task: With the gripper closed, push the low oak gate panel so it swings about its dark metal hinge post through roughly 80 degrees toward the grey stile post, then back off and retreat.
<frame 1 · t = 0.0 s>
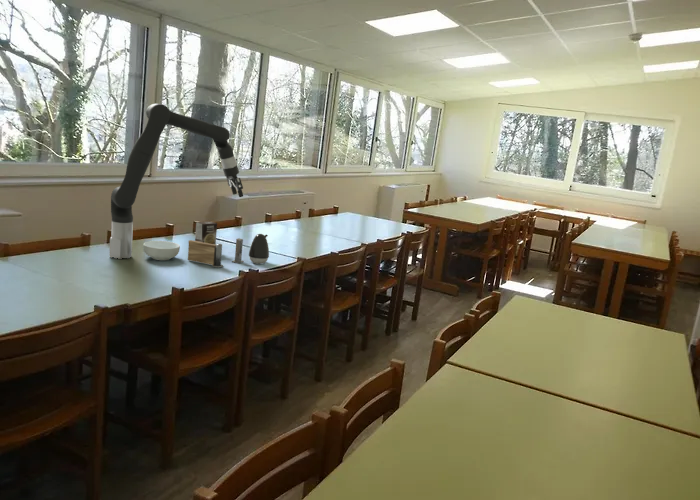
hand: (238, 195, 282), 31 cm above the table, tool tilted 20°, fingers open, 8 cm apart
cereal bowl: (161, 258, 263), on the table
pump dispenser: (258, 263, 276), on the table
hinge post: (217, 266, 260), on the table
coffee box: (204, 252, 284), on the table
stile post: (237, 262, 273), on the table
gate: (202, 252, 261), point 5 cm above the table, hinge at 0.0°
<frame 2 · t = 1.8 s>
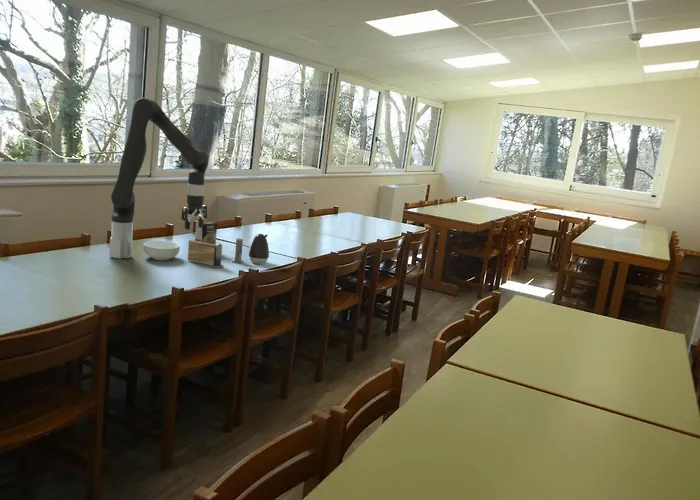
hand: (193, 228, 251), 18 cm above the table, tool pointing down, fingers open, 8 cm apart
nothing on the table moved.
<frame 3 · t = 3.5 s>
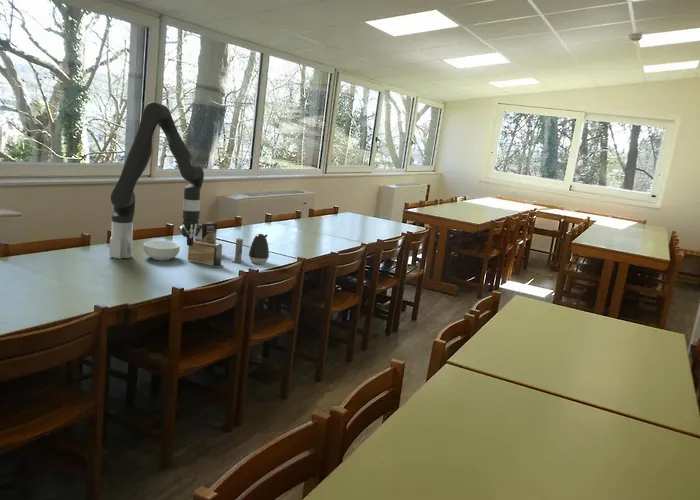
hand: (189, 245, 251), 10 cm above the table, tool pointing down, fingers closed
nothing on the table moved.
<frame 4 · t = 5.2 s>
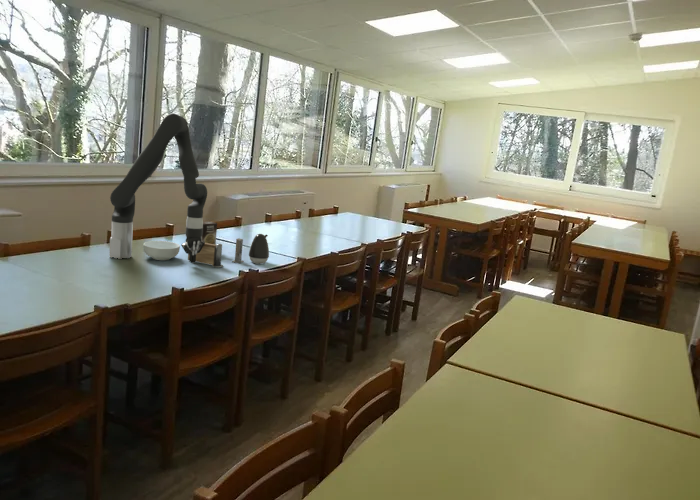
hand: (192, 262, 255), 2 cm above the table, tool pointing down, fingers closed
nothing on the table moved.
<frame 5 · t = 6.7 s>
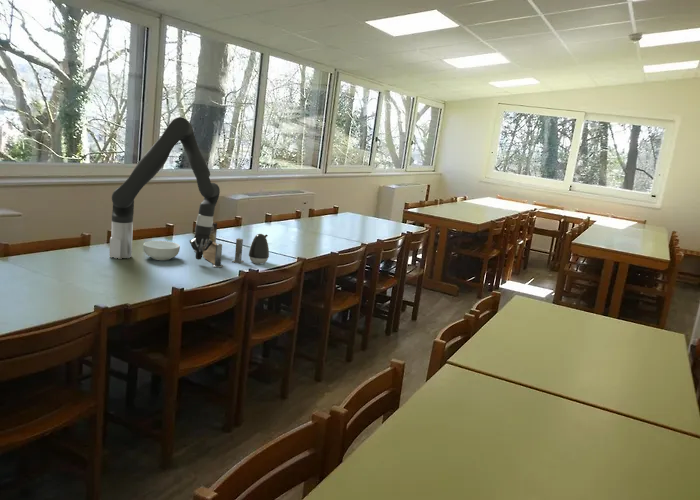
hand: (198, 259, 259), 3 cm above the table, tool pointing down, fingers closed
gate: (210, 251, 266), point 5 cm above the table, hinge at 36.4°, touching hand
everything else where it was.
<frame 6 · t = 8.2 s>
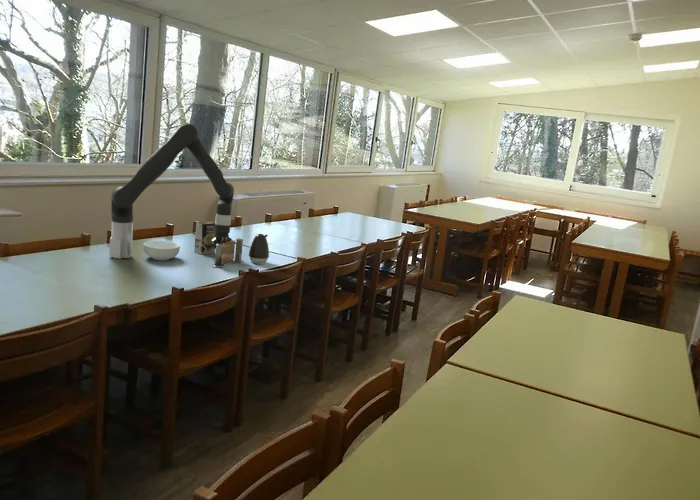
hand: (219, 256, 270), 2 cm above the table, tool pointing down, fingers closed
gate: (226, 252, 268), point 5 cm above the table, hinge at 87.2°, touching hand
everything else where it was.
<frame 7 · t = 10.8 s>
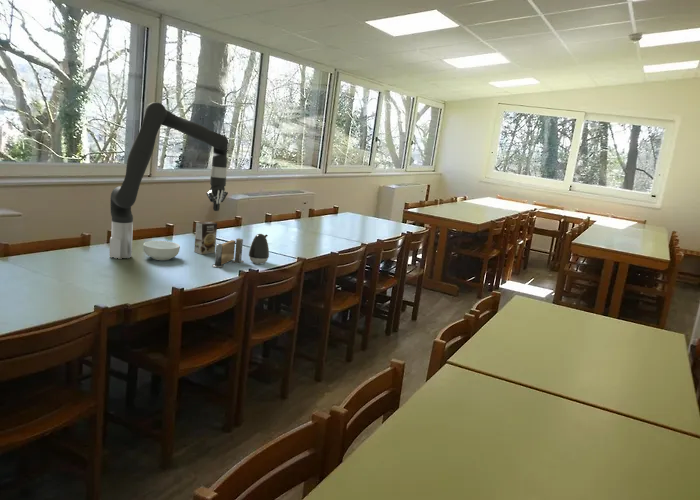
hand: (216, 210, 268), 25 cm above the table, tool pointing down, fingers closed
gate: (226, 252, 268), point 5 cm above the table, hinge at 87.3°
everything else where it was.
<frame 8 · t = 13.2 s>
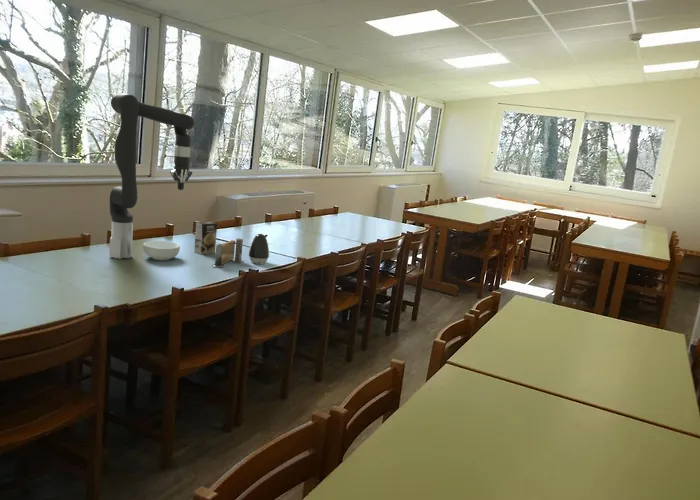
hand: (180, 189, 273), 32 cm above the table, tool pointing down, fingers closed
nothing on the table moved.
at the end: gate at +87° (first picture: +0°); gate touching nothing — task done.
